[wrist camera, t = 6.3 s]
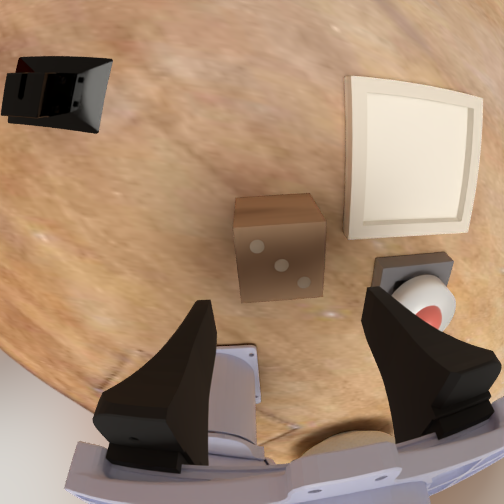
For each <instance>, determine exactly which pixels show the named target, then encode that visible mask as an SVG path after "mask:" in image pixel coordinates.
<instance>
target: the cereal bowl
mask: <svg viewBox="0 0 504 504" xmlns="http://www.w3.org/2000/svg"><path fill="white" fill-rule="evenodd" d="M385 441H387V442H391V443H394V444H395V438H394V437H393V436H391V435H389V434H387V433H385V432H381V431H348V432H343V433H339V434H336V435H333V436H331V437H329V438H327V439H325V440H324V441H322V442H321V443H319V444H317V445H315V446H313V447H312V448H310V449H309V450H308V451H306V452H305V453H304V454H303V455H302V456H301V457H303V456H307V455H312V454H317V453H324V452H331V451H337V450H343V449H348V448H354V447H359V446H363V445H368V444H373V443H378V442H385Z"/></svg>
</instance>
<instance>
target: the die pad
mask: <svg viewBox="0 0 504 504" xmlns="http://www.w3.org/2000/svg"><path fill="white" fill-rule="evenodd" d="M344 86H345V119H346V165H345V199H344V219H343V233H344V234H345V236H346V237H347V239H348V240H355V239H371V238H386V237H402V236H418V235H434V234H451V233H468V228H469V224H470V219H471V214H472V209H473V203H474V197H475V191H476V184H477V177H478V170H479V161H480V151H481V138H482V119H483V98H480V97H476V96H473V95H469V94H465V93H461V92H456V91H452V90H448V89H443V88H438V87H433V86H428V85H422V84H416V83H410V82H404V81H397V80H389V79H381V78H371V77H360V76H347V77H344Z"/></svg>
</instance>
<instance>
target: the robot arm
mask: <svg viewBox="0 0 504 504" xmlns="http://www.w3.org/2000/svg"><path fill="white" fill-rule="evenodd" d="M361 322H362V325H363V329H364V333H365V336H366V339H367V342H368V344H369V347H370V349H371V352H372V354H373V356H374V359H375V361H376V363H377V366H378V368H379V371H380V373H381V376H382V379H383V382H384V385H385V389H386V393H387V397H388V401H389V406H390V411H391V416H392V422H393V428H394V435H395V444H394V443H391V442H387V441H385V442H378V443H373V444H368V445H363V446H359V447H354V448H348V449H343V450H337V451H331V452H324V453H317V454H312V455H307V456H303V457H300V458H298V459H295V460H293V461H292V462H290V463H288V464H275V462H274V461H273V460H272V459H271V458H268V457H264V447H263V446H257V438H256V405H255V404H258V403H260V402H261V392H260V382H259V371H258V359H257V348H256V347H255V346H254V345H240V346H216V345H217V331H216V326H215V321H214V315H213V310H212V305H211V300H197V301H196V302H195V304H194V305H193V307H192V309H191V310H190V312H189V313H188V315H187V316H186V318H185V319H184V321H183V322H182V324H181V325H180V326H179V328H178V329H177V330H176V332H175V333H174V334H173V336H172V337H171V338H170V339H169V341H168V342H167V343H166V344H165V345H164V346H163V348H162V349H161V350H160V351H159V352H158V353H157V354H156V355H155V356H154V357H153V358H152V359H151V360H150V361H148V362H147V363H146V364H145V365H144V366H143V367H141V368H140V369H139V370H138V371H136V372H135V373H134V374H132V375H131V376H129V377H128V378H127V379H125V380H124V381H122V382H120V383H119V384H117V385H115V386H113V387H112V388H110V389H108V390H106V391H104V392H103V393H102V395H101V397H100V399H99V402H98V405H97V407H96V410H95V413H94V417H93V423H94V425H95V427H96V428H97V429H98V431H99V432H100V433H101V434H102V435H103V436H104V437H105V438H106V439H107V441H109V447H108V449H106V448H104V447H102V446H99V445H95V444H90V443H85V442H81V441H79V442H78V444H77V446H76V449H75V453H74V456H73V459H72V463H71V466H70V470H69V473H68V477H67V480H66V484H65V490H66V491H68V492H69V493H71V494H72V495H74V496H76V497H77V498H79V499H81V500H83V501H85V502H86V503H88V504H431V502H430V499H429V496H430V495H433V494H435V493H437V492H439V491H442V490H444V489H446V488H448V487H450V486H452V485H454V484H456V483H458V482H460V481H462V480H464V479H466V478H468V477H470V476H472V475H473V474H475V473H477V472H479V471H481V470H483V469H484V468H486V467H488V466H490V465H491V464H493V463H495V462H496V461H498V460H500V459H501V458H503V457H504V396H503V397H501V398H499V399H497V400H496V401H494V402H493V403H492V404H491V403H490V401H489V399H490V398H491V394H490V392H489V391H488V390H489V389H490V387H491V386H492V385H493V383H494V382H495V380H496V379H497V377H498V375H499V374H500V371H501V363H500V361H499V360H498V358H497V357H496V355H495V354H494V352H493V351H491V350H487V349H484V348H480V347H477V346H474V345H471V344H468V343H465V342H463V341H460V340H458V339H456V338H454V337H452V336H450V335H447V334H445V333H444V332H442V331H440V330H438V329H437V328H435V327H433V326H431V325H430V324H428V323H427V322H425V321H424V320H422V319H421V318H419V317H418V316H417V315H415V314H414V313H412V312H411V311H410V310H409V309H407V308H406V307H405V306H403V305H402V304H401V303H400V302H398V301H397V300H396V299H395V298H394V297H392V296H391V295H390V294H389V293H387V292H386V291H385V290H384V289H382V288H381V287H380V286H376V287H367V292H366V298H365V303H364V309H363V314H362V319H361ZM250 353H253V354H250Z"/></svg>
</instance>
